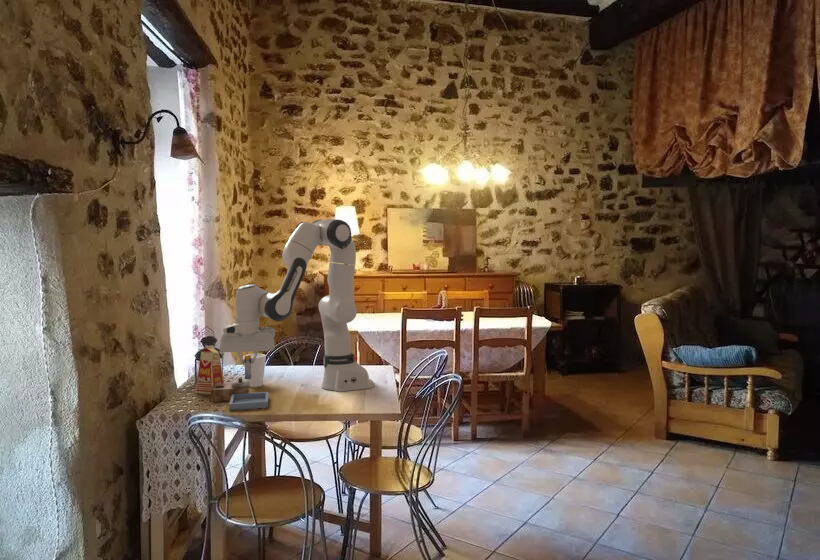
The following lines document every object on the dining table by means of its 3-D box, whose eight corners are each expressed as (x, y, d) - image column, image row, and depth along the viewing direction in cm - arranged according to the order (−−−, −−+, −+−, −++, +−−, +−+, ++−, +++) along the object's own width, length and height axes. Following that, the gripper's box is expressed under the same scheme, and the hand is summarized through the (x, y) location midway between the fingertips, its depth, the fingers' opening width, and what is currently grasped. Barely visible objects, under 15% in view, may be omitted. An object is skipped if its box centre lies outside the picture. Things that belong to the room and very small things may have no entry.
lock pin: (251, 377, 232) (251, 354, 231) (251, 379, 229) (250, 355, 229) (245, 377, 231) (244, 354, 231) (244, 379, 229) (244, 356, 228)
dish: (268, 397, 240) (268, 391, 240) (267, 408, 226) (267, 401, 226) (232, 400, 237) (232, 394, 237) (229, 410, 223) (229, 404, 223)
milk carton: (214, 394, 245) (213, 346, 244) (194, 393, 247) (192, 345, 246) (226, 388, 254) (224, 342, 253) (206, 387, 256) (204, 341, 254)
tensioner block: (250, 393, 246) (249, 375, 246) (249, 398, 239) (248, 380, 238) (213, 395, 243) (212, 377, 243) (211, 401, 236) (210, 382, 235)
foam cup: (265, 381, 265) (264, 352, 264) (267, 386, 257) (266, 357, 256) (243, 383, 262) (242, 354, 261) (244, 388, 254) (243, 358, 253)
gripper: (275, 325, 234) (275, 360, 235) (220, 326, 230) (221, 362, 231) (275, 327, 228) (275, 363, 229) (219, 329, 224) (219, 365, 225)
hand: (247, 362), depth 230 cm, fingers closed on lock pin, 2 cm apart
